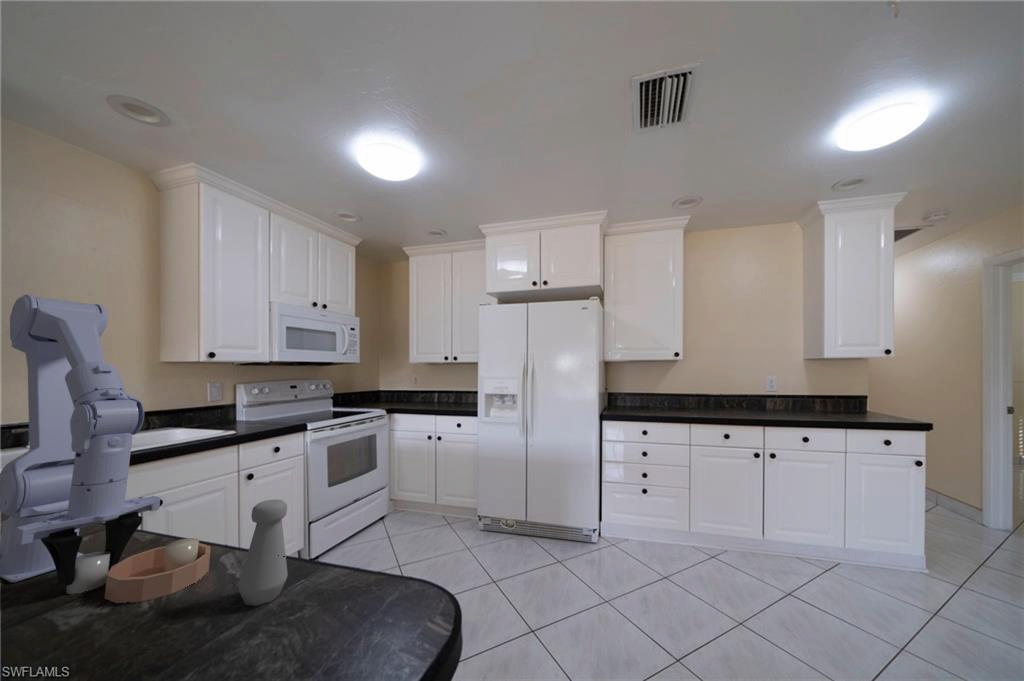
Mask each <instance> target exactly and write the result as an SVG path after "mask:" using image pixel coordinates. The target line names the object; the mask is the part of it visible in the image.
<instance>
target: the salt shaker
mask: <svg viewBox="0 0 1024 681" xmlns="http://www.w3.org/2000/svg"><path fill="white" fill-rule="evenodd" d="M287 512H288V504H287V503H286V501H285V500H283V499H276V498H274V499H268V500H263V501H261V502H258V503H256V505H254V506H253V507H252V509H251V521H252V523H255V524H256V525H255V529H254V531H253V535H252V538H251V541H250V543H249V544H250V545H249V548H248V552H247V555H246V558H245V562H244V564H243V569H242V570H241V574H240V578H239V581H238V589H239V590H238V592H239V594H240V597H241V598H242V600H243V603H244V605H247V606H253V607H258V606H261V605H265V604H268V603H270V602H273V601H274V600H275V599H276V598H277V597H278V596H279V595H280V594H281V591H282V589H283V587H284V585H285V584H286V581H287V579H288V565H287V557H286V556H287V555H286V546H285V545H286V544H285V538H284V528H283V521H282V520H283V519H284V518H285V516H286V515H287ZM278 555H279V556H278ZM283 556H285V557H283Z"/></svg>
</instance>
